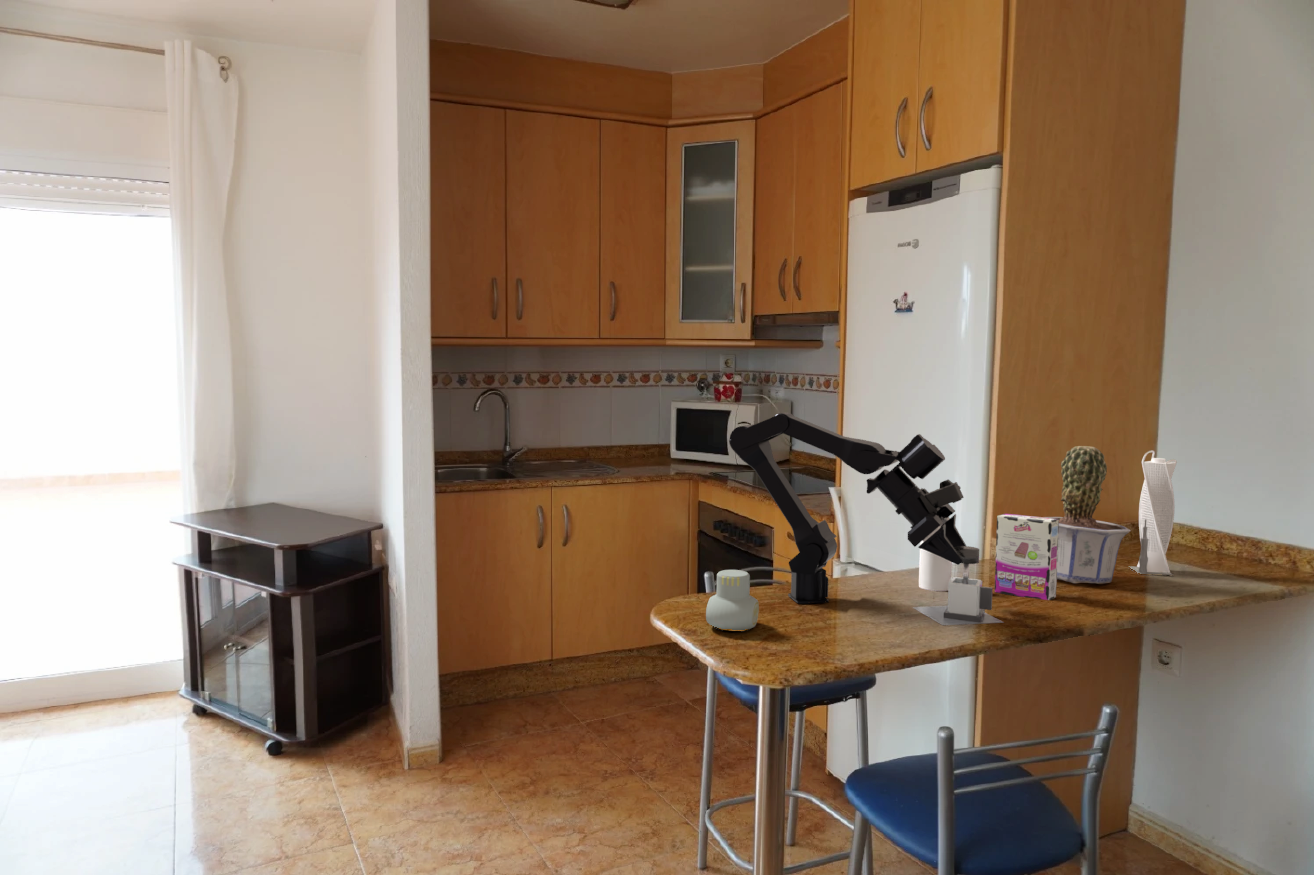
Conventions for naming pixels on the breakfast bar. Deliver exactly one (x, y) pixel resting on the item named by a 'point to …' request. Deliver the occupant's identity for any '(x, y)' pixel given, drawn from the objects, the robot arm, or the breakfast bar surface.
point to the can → (934, 571)
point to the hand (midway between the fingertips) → (964, 558)
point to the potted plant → (1085, 521)
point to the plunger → (967, 559)
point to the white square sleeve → (968, 600)
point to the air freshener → (732, 602)
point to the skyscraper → (1155, 515)
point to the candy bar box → (1026, 556)
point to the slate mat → (938, 616)
